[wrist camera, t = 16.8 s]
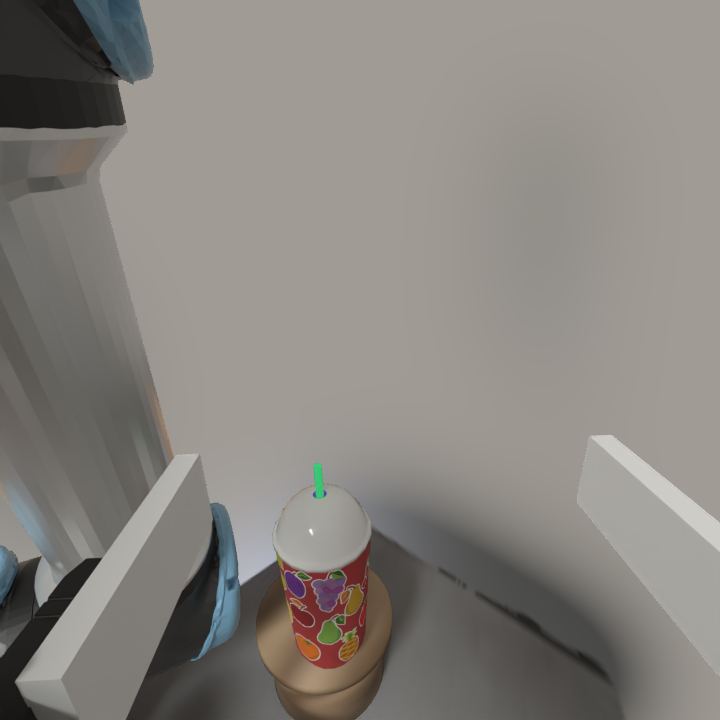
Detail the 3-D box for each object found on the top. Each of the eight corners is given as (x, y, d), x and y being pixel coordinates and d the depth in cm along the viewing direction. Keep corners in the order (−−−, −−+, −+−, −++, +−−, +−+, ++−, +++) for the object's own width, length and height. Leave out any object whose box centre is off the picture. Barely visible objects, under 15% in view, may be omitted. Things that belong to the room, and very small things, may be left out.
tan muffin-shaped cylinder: (238, 712, 39) (226, 659, 36) (300, 590, 51) (295, 544, 48) (372, 767, 35) (370, 712, 32) (403, 620, 47) (404, 571, 44)
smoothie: (359, 588, 42) (353, 430, 35) (386, 667, 35) (385, 486, 28) (282, 612, 40) (260, 447, 33) (294, 701, 33) (268, 513, 26)
